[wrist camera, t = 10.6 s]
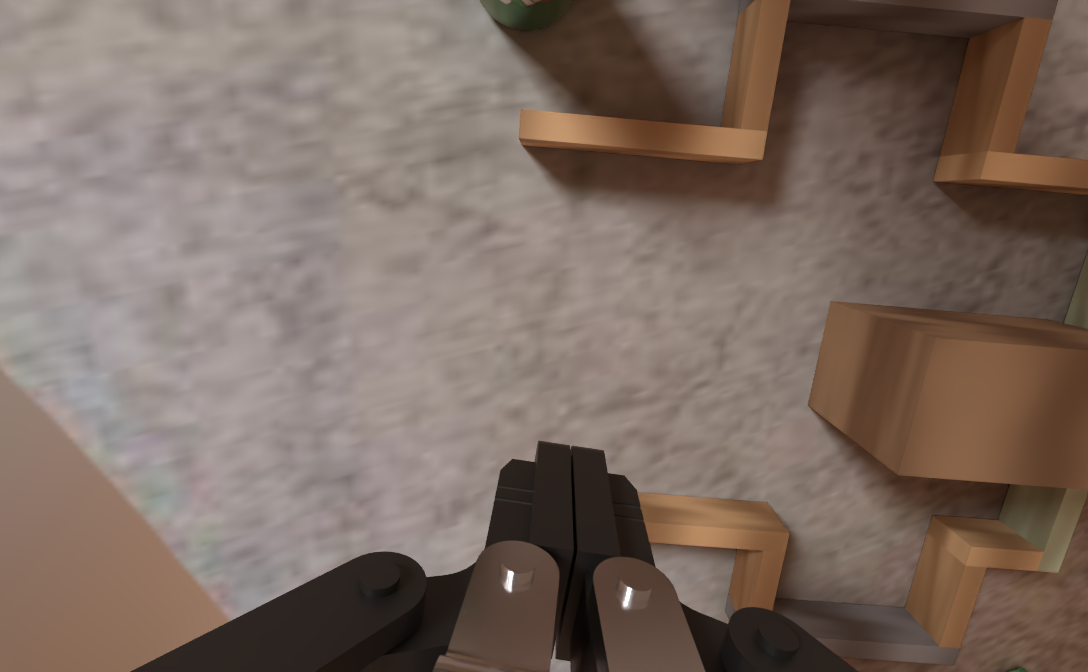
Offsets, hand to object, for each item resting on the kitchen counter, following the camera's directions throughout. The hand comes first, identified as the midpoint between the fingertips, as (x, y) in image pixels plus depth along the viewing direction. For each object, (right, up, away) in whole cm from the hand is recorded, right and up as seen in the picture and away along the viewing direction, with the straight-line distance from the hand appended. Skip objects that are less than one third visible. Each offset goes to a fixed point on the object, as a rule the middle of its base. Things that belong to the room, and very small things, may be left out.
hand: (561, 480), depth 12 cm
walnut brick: (+21, +2, +17) cm, 27 cm away
